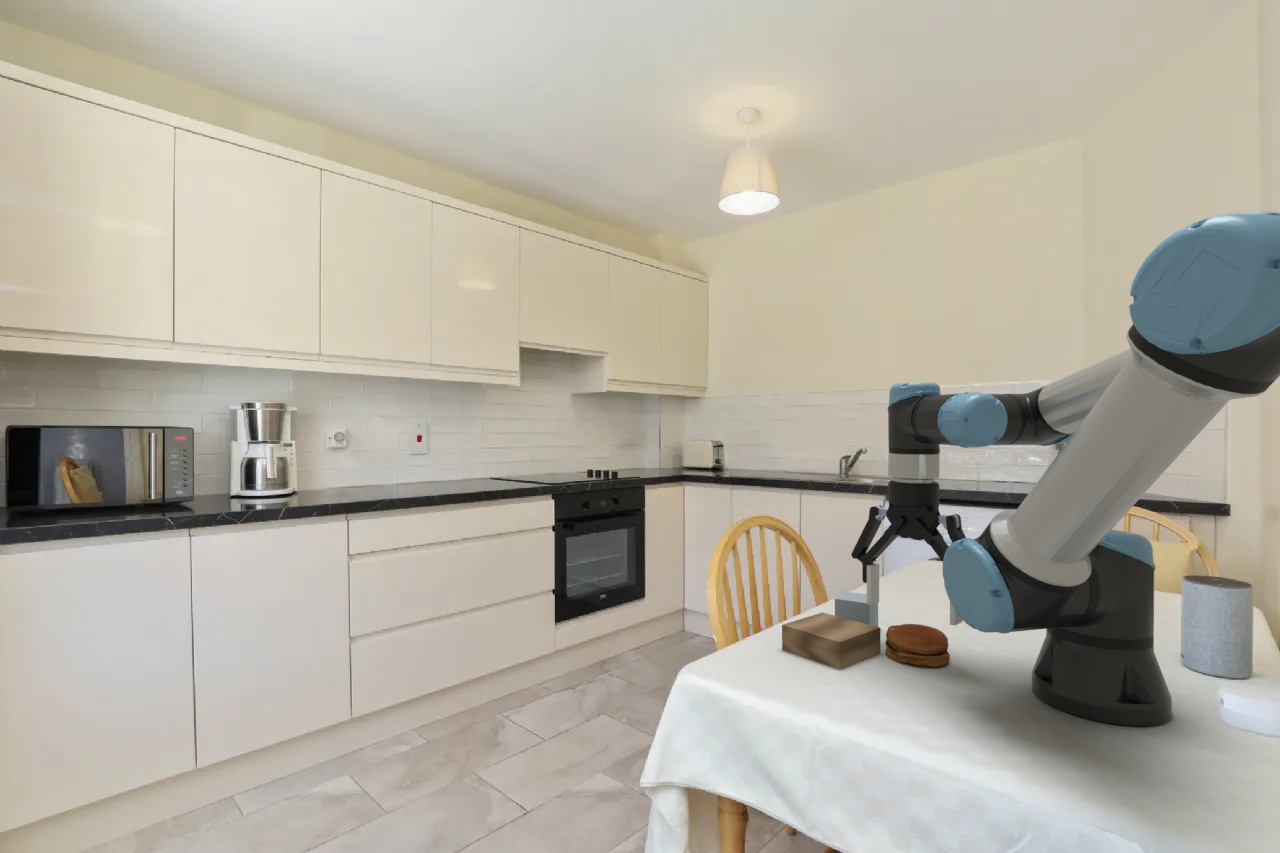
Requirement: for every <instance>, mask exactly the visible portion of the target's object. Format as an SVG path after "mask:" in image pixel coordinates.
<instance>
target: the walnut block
mask: <svg viewBox="0 0 1280 853" xmlns="http://www.w3.org/2000/svg"><path fill="white" fill-rule="evenodd" d="M781 645H782V646H781V649H782V651H784V652H786V653H789V654H793V655H796V656H798V657H801V658H804V659H808V660H810V661H813V662H815V663H819V664H822V665H825V666H828V667H830V668H834V669H836V670H839V671H841V670H843V669H846V668H849V667H852V666H853V665H855V664H858V663H860V662H864V661H865V660H868V659H870V658H873V657H876V656H878V655H880V654H881V652H882V650H881V627H879V626H878V627H876V626H873V625H869V624H865V623H861V622H857V621H854V620H850V619H846V618H842V617H839V616H835V614H830V613H826V612H820V613H816V614H813V615H810V616H807V617H804V618H799V619H797V620H793V621H790V622H786V623H784V624H782V625H781Z"/></svg>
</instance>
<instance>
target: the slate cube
mask: <svg viewBox="0 0 1280 853" xmlns="http://www.w3.org/2000/svg"><path fill="white" fill-rule="evenodd" d="M834 615H835V616H839V617H842V618H846V619H850V620H854V621H857V622H861V623H865V624H869V625H873V626H876V627H879V602H878V603H876V604H873V605H867V593H859V592H852V591H843V592H841V593H840V594H839V595H838V596H836V597H835V598H834Z"/></svg>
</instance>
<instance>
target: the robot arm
mask: <svg viewBox="0 0 1280 853" xmlns="http://www.w3.org/2000/svg"><path fill="white" fill-rule="evenodd" d="M1138 268H1139V269H1137V272H1136V274H1135V276H1134V278H1133V280H1132V284H1131V287H1130V290H1129V295H1130V296H1131V297H1133V302H1132V303H1131V304H1129V306H1128V307H1129V308H1128V309H1129V315H1130V319H1131V321H1132V325H1131V326H1130V328H1129V329H1128V330H1127V332H1126V340H1127V343H1128V345H1129V347H1130V348H1128V349H1126V350H1123V351H1122V352H1119V353H1117V354H1114V355H1112V356H1110V357H1107V358H1105V359H1102V360H1101V361H1098V362H1096V363H1094V364H1091V365H1089V366H1087V367H1085V368H1082V369H1081V370H1078V371H1075V372H1073V373H1070V374H1068V375H1065V376H1064V377H1061V378H1060V379H1057V380H1055V381H1052V382H1050V383H1049V384H1046V385H1045V386H1041V387H1040V388H1036V389H1035V390H1032V391H1029V392H1027V393H982V392H968V391H966V392H960V393H952V394H950V393H947V394H941V386H940V385H939V384H938V383H936V382H900V383H894V384H892V386H891V387H890V388H889V400H888V405H887V414H888V416H887V418H888V419H887V421H888V422H887V423H888V424H887V425H888V430H887V431H888V438H887V439H888V465H887V468H888V469H887V471H888V472H887V476H888V477H889V478H891V480H889V482H888V484H887V501H888V507H887V508H885V507H884V506H883V505H875V506H871V507H870V508H869V513H868V519H867V521H866V524H865V525H864V528H863V530H862V531H861V534H860V536H859V537H858V539H857V542H856V543H855V546H854V547H853V549H852V552H851V554H850V555H851V558H852V559H855V560H857V561H859V562H860V563H861V566H862V575H861V576H862V579H861V580H862V583H863V584H866V594H867V605H873V604H876V603H878V604H879V603H880V563H878V562H877V559H878V558H879V557H880V556H881V555H882V554H883V553H884V552H885V551H886V549H887V548H888V547H889V546H890V545H891V544H892V543H893V542H894V541H895V540H896V539H897V538H898V537H900V539H913V540H915V541H922V540H924V541H925V543H926V544H927V545H929V546H930V547H931V549H932V550H933V551H934V552H935V554H936V555H937V556H938V558H939V559H940V560H941V562H942V577H943V583H944V584H943V585H944V588H945V591H946V595H947V597H948V600H949V625H951V626H954V627H956V626H957V625H959V624H961V623H963V622H964V623H965V624H967V625H968V626H969V627H970V628H972V629H974V630H978V631H979V632H982V633H999V634H1009V633H1013V632H1014V633H1015V632H1025V631H1026V632H1027V631H1034V630H1035V631H1036V630H1046V633H1045V637H1044V640H1043V642H1042V645H1041V648H1040V651H1039V653H1038V654H1037V657H1036V658H1037V659H1036V661H1035V662H1034V664H1033V668H1032V671H1031V690H1032V692H1033V694H1034V695H1035V696H1036V697H1038V698H1039V699H1040V700H1041V701H1043V702H1045V703H1046V704H1048V705H1050V706H1052V707H1054V708H1056V709H1059V710H1061V711H1062V712H1063V711H1064V712H1066V713H1069V714H1072V715H1076V716H1078V717H1081V718H1086V719H1089V720H1093V721H1098V722H1103V723H1108V724H1114V725H1122V726H1135V727H1136V726H1137V727H1148V726H1149V727H1150V726H1156V725H1157V726H1158V725H1162V724H1165V723H1168V722H1169V721H1170V720H1171V719H1172V716H1173V702H1172V701H1173V700H1172V696H1171V693H1170V690H1169V687H1168V685H1167V682H1166V680H1165V677H1164V675H1163V672H1162V669H1161V667H1160V664H1159V661H1158V659H1157V657H1156V653H1155V644H1154V643H1155V642H1154V641H1155V639H1154V637H1155V636H1154V634H1155V633H1154V631H1155V629H1154V626H1155V571H1156V565H1155V563H1154V562H1155V561H1154V550H1153V544H1152V542H1150V540H1149V539H1148V538H1147V537H1145V536H1144V535H1141V534H1138V533H1133V532H1128V531H1123V530H1117V529H1114V528H1115V526H1116V525H1118V523H1119V522H1120V521H1121V520H1122V519H1123V517H1124V516H1125V515H1127V513H1128V512H1129V511H1130V510H1131V509H1132V508H1133V507H1134V506H1135V504H1136V503H1137V502H1138V501H1139V500H1140V499H1141V498H1142V497H1143V496H1144V494H1146V492H1147V491H1148V490H1149V489H1150V488H1151V487H1152V485H1154V483H1155V482H1156V481H1157V480H1158V479H1159V478H1160V477H1161V476H1162V474H1164V473H1165V472H1166V470H1167V469H1168V468H1169V467H1170V466H1171V464H1173V462H1175V460H1177V459H1178V457H1179V456H1180V455H1181V454H1182V453H1183V452H1184V451H1185V450H1186V449H1187V447H1188V446H1189V445H1190V444H1191V443H1192V442H1193V441H1194V440H1195V439H1196V438H1197V437H1198V435H1200V433H1201V432H1203V430H1204V429H1205V428H1206V427H1207V426H1208V424H1209V423H1210V422H1211V421H1212V420H1214V418H1215V417H1216V416H1217V415H1218V414H1219V412H1220V411H1222V409H1223V408H1224V406H1226V405H1227V403H1228V402H1229V401H1231V400H1237V399H1245V398H1252V397H1253V398H1254V397H1258V396H1260V395H1262V394H1263V393H1265V392H1266V391H1267V390H1268V388H1270V387H1271V385H1272V384H1274V383H1275V381H1276V380H1277V379H1278V378H1279V377H1280V212H1279V211H1274V212H1273V211H1272V212H1271V211H1258V212H1254V211H1252V212H1245V213H1226V214H1219V215H1214V216H1210V217H1206V218H1204V219H1201V220H1199V221H1195V222H1192V223H1190V224H1188V225H1186V226H1184V227H1182V228H1180V229H1179V230H1177V231H1175V232H1174V233H1172V234H1170V235H1169V236H1167V238H1165V239H1164V240H1163V241H1161V243H1159V244H1158V245H1157V246H1156V247H1155V248H1154V249H1153V250H1152V251H1151V252H1150V253H1149V254H1148V256H1147V257H1146V258H1145V259H1144V261H1143V262H1142V263H1141V265H1140V267H1138ZM1061 444H1064V446H1063V447H1062V448H1061V449H1060V451H1059V452H1058V454H1057V455H1056V456H1055V457H1054V459H1053V460H1052V461H1051V463H1050V464H1049V466H1048V467H1047V468H1046V470H1045V471H1044V472H1043V474H1042V475H1041V476H1040V478H1039V479H1038V481H1037V482H1036V483H1035V485H1034V486H1033V487H1032V488H1031V489H1030V491H1029V493H1028V494H1027V496H1026V497H1025V498H1024V500H1023V501H1022V502H1021V503H1020V505H1019V506H1018V507H1017V509H1015V508H1013V509H1005V510H1002V511H1000V512H999V513H997V514H996V515H995V516H994V517H993V518H992V519H991V521H990V522H989V523H988V525H987V526H986V527H985V529H984V530H983V531H982V532H981V534H980V535H979V536H978V537H976V538H971V537H966V534H965V532H964V530H963V527H962V525H963V524H962V518H961V516H960V514H957V513H954V514H950V515H947V514H945V515H943V514H942V515H941V513H940V510H939V509H940V508H939V507H940V483H939V482H938V481H936V480H937V479H939V478H940V453H941V448H940V446H941V445H944V446H955V447H960V448H966V449H967V448H985V447H989V446H1043V447H1044V446H1045V447H1046V446H1047V447H1048V446H1054V445H1061ZM886 518H887V520H888V521H889V523H890V525H889V527H887V528H886V529H885V531H884V533H883V534H882V535H881V536H880V537H879V539H878V540H877V541H875V543H874V544H873V545H872V546H871V544H872V542H873V540H874V538H875V536H876V534H877V532H878V530H879V528H880V526H881V524H882V522H883V520H886ZM941 524H942V526H943V528H944V529H946V530H947V534H948V537H949V539H950V541H951V543H950V545H948V543H947V542H946V541H945V540H944V536H943V535H942V532H940V531H939V529H938V527H939V526H940V525H941ZM869 548H870V549H869ZM874 562H875V563H874ZM876 562H877V563H876Z"/></svg>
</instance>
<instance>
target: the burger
mask: <svg viewBox="0 0 1280 853" xmlns="http://www.w3.org/2000/svg"><path fill="white" fill-rule="evenodd" d="M885 638H886V639H885V646H886V648H885V650H884V651H885V653H884V654H885V656H887V658H888V659H890V660H891V661H894V662H897V663H902V664H908V665H909V664H912V665H915V666H917V667H918V666H919V667H921V666H922V667H928V668H937V667H942V666H946V665H947V664H948V663H949V661H950V657H951V656H950V654H949V651H948V650H949V640H948V637H947V635H946V634H945V633H944V632H943V631H941V630H940V629H938V628H937V627H936V628H935V627H932V626H928V625H925V624H917V623H916V624H915V623H903V624H897V625H891V626H889V627H888V628H887V631H886V632H885Z"/></svg>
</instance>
